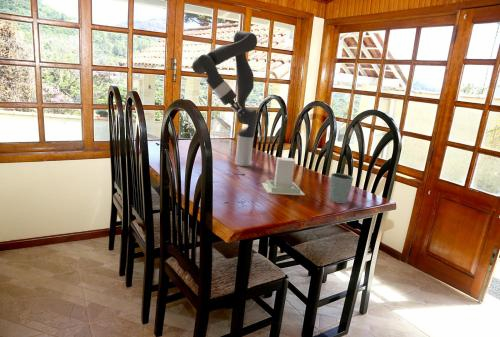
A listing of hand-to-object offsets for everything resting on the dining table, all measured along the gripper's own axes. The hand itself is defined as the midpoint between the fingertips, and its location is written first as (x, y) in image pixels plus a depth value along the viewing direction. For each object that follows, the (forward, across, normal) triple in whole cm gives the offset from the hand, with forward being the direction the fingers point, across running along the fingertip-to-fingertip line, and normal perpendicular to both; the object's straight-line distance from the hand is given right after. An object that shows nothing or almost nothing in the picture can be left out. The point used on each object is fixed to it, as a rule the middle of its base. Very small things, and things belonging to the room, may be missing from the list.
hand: (245, 119), depth 173 cm
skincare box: (+35, -14, +8) cm, 38 cm away
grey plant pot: (+53, -25, -9) cm, 59 cm away
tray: (+36, -14, +8) cm, 39 cm away
